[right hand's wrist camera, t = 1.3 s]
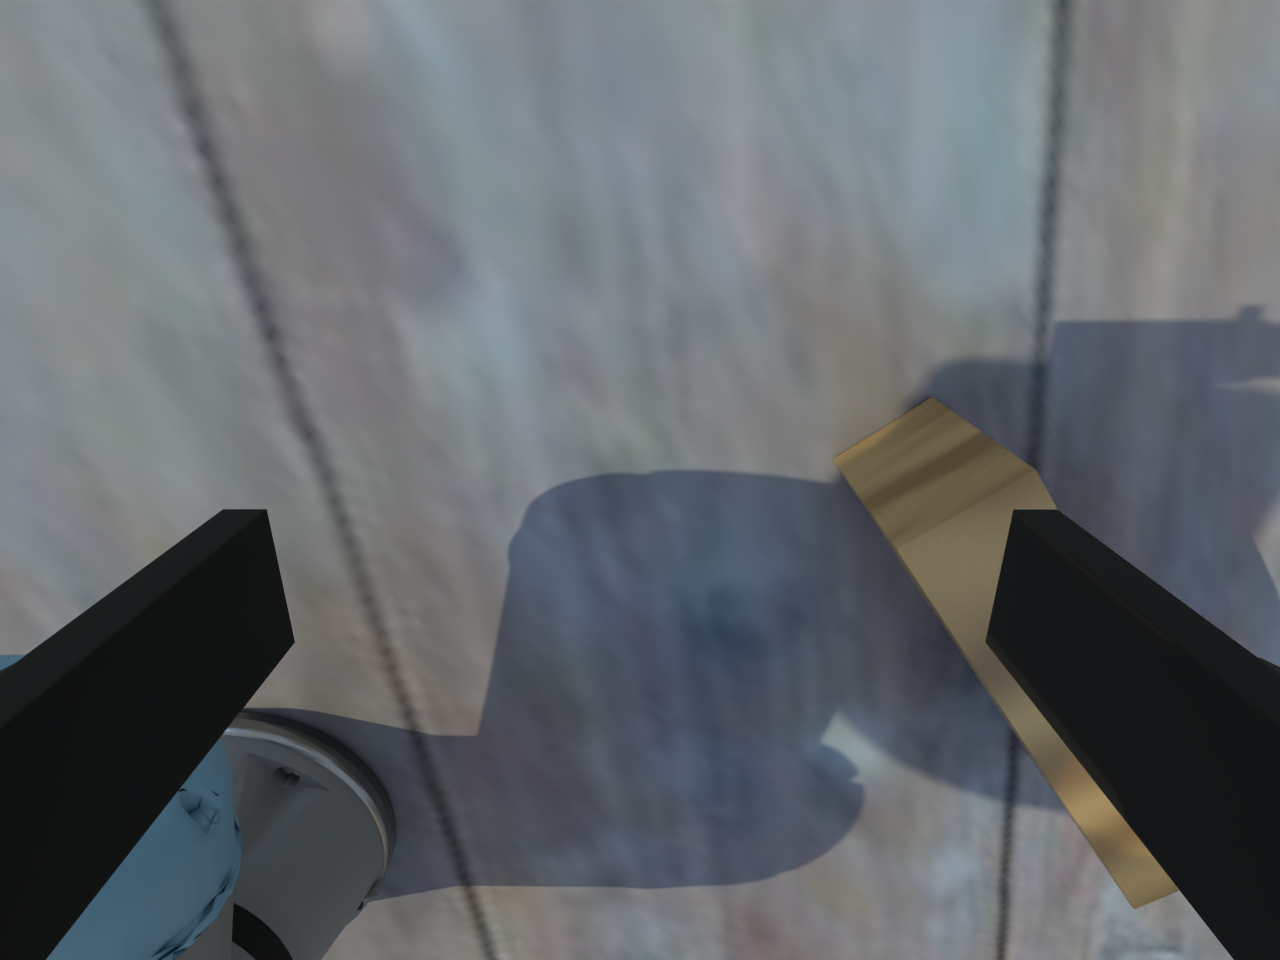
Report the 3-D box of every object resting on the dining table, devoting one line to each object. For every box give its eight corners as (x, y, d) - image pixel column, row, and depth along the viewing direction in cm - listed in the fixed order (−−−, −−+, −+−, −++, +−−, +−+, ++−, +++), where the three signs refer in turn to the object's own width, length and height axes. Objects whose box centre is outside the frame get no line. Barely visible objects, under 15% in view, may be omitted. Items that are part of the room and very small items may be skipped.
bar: (832, 459, 32) (896, 550, 24) (932, 395, 31) (1036, 468, 23) (1029, 757, 39) (1134, 910, 31) (1118, 713, 38) (1252, 860, 29)
